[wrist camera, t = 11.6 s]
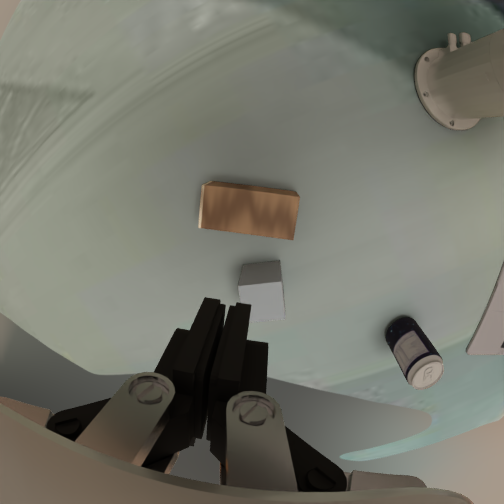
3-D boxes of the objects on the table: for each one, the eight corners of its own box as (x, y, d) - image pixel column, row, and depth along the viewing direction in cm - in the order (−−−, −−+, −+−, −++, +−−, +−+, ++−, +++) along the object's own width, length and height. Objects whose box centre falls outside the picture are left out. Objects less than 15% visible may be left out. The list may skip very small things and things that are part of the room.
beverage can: (384, 347, 44) (407, 396, 33) (383, 319, 43) (411, 367, 31) (414, 338, 44) (443, 384, 32) (415, 310, 42) (449, 354, 31)
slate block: (243, 264, 41) (237, 286, 35) (279, 260, 41) (281, 281, 34) (248, 297, 43) (244, 323, 36) (283, 293, 42) (285, 319, 36)
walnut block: (201, 184, 33) (299, 197, 33) (210, 180, 38) (296, 191, 38) (198, 227, 35) (293, 240, 34) (207, 218, 39) (290, 229, 39)
